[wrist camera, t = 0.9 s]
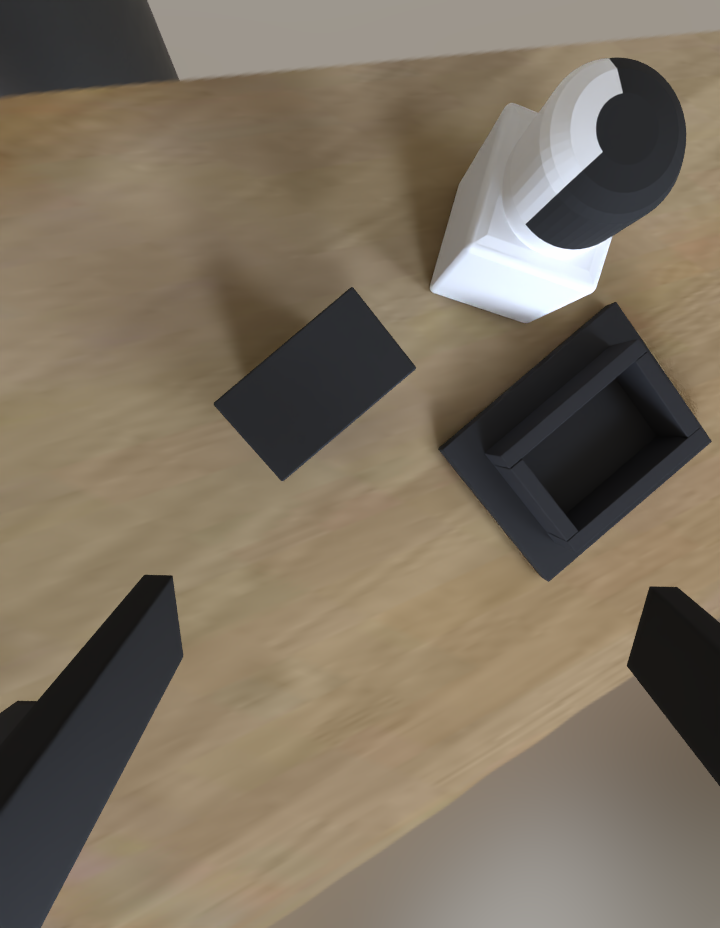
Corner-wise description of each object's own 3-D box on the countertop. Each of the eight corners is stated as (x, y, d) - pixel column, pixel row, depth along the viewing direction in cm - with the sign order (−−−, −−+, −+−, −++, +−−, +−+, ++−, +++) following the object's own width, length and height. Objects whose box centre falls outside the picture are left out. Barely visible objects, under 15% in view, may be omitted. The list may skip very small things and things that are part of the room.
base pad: (437, 448, 28) (454, 452, 25) (606, 305, 29) (645, 289, 25) (541, 576, 30) (570, 597, 27) (699, 440, 30) (749, 443, 27)
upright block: (254, 411, 27) (212, 403, 16) (338, 340, 27) (352, 285, 16) (296, 458, 28) (282, 482, 17) (377, 389, 28) (417, 367, 17)
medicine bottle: (559, 219, 28) (741, 67, 16) (527, 326, 28) (679, 256, 16) (458, 181, 27) (570, -9, 15) (426, 292, 27) (511, 193, 15)
